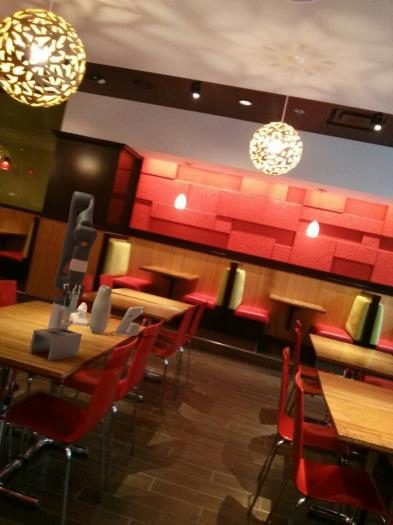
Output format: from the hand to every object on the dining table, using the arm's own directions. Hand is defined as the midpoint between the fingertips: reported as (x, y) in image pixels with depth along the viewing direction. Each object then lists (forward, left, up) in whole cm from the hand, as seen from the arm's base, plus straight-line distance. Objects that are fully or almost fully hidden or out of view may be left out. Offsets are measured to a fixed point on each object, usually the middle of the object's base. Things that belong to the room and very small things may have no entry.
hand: (69, 306), depth 201 cm
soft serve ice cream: (-60, -39, -22) cm, 75 cm away
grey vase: (-52, -19, -22) cm, 60 cm away
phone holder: (-71, -11, -22) cm, 75 cm away
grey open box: (+4, 0, -22) cm, 22 cm away
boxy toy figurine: (0, 0, -9) cm, 9 cm away
